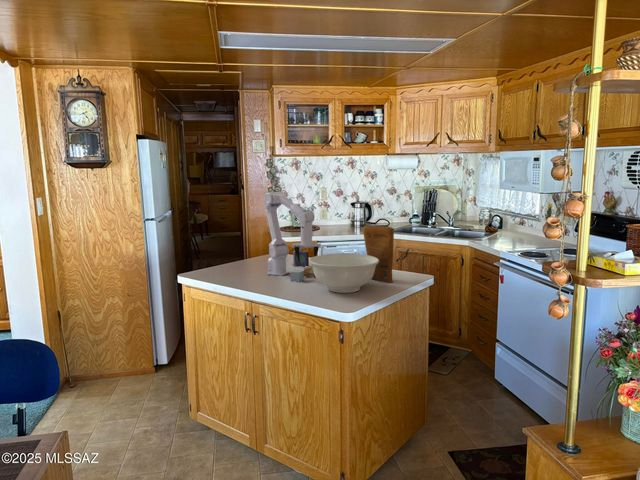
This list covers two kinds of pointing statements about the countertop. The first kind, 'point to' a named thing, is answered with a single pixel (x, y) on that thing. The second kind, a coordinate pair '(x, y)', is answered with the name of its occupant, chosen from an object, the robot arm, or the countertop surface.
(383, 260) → the pancake mix bag
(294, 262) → the flask
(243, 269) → the countertop surface
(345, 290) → the bowl
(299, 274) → the slate block
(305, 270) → the oak slab
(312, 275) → the walnut slab
